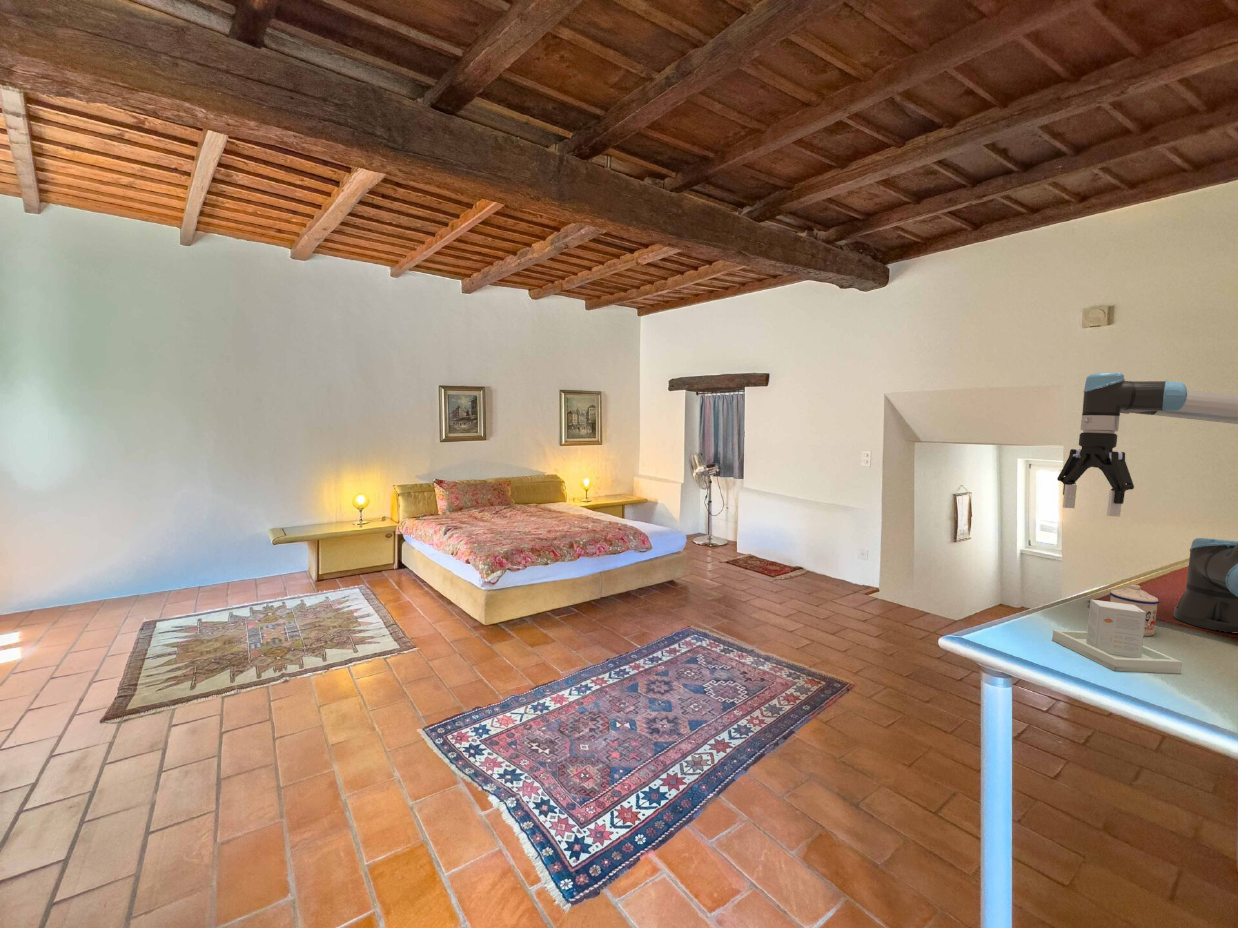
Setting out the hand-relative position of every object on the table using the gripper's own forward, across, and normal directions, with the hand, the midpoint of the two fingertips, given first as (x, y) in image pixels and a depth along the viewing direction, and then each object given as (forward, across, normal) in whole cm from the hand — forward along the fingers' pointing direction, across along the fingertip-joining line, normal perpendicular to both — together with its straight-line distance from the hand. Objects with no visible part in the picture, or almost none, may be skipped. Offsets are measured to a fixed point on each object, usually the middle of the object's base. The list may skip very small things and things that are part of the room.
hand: (1089, 511), depth 145 cm
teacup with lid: (+29, +8, +7) cm, 31 cm away
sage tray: (+29, +26, -15) cm, 42 cm away
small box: (+28, +26, -15) cm, 41 cm away
